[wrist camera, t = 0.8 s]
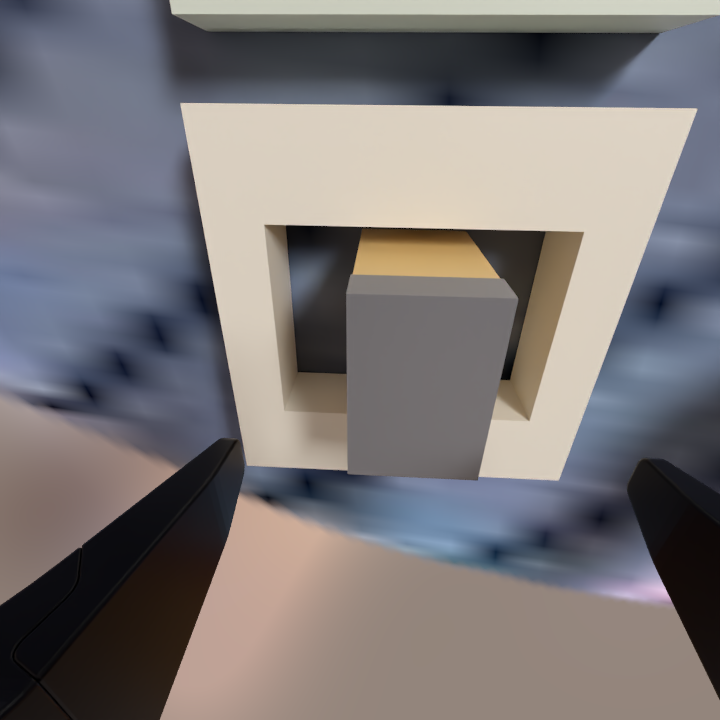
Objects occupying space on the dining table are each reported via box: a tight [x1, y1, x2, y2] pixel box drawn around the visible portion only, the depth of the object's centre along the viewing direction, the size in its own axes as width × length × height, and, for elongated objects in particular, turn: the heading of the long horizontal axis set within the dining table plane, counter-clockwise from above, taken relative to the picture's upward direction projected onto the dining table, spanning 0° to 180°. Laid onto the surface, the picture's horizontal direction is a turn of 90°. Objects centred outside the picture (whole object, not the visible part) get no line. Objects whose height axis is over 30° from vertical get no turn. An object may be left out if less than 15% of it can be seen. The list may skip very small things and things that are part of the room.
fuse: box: [346, 228, 519, 480], centre depth 14 cm, size 4×6×7 cm
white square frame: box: [180, 103, 697, 480], centre depth 16 cm, size 14×14×3 cm
